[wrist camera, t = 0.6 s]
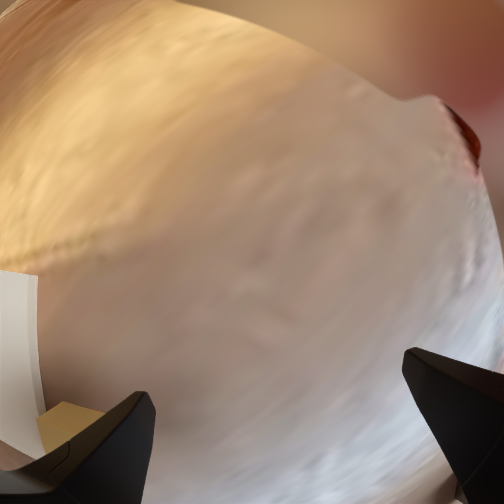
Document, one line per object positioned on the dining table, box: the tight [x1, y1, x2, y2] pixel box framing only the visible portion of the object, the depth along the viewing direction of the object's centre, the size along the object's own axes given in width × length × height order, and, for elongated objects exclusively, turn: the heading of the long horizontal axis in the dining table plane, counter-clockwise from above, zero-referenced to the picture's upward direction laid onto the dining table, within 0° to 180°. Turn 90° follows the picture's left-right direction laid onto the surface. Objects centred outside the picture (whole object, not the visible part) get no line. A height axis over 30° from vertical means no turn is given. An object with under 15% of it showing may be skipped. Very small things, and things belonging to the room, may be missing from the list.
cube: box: [36, 401, 106, 454], centre depth 15 cm, size 5×5×5 cm
